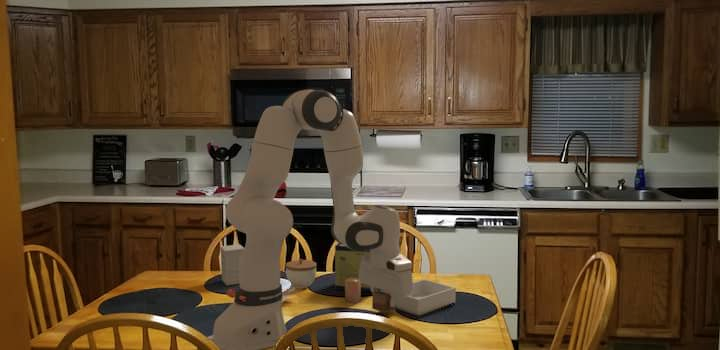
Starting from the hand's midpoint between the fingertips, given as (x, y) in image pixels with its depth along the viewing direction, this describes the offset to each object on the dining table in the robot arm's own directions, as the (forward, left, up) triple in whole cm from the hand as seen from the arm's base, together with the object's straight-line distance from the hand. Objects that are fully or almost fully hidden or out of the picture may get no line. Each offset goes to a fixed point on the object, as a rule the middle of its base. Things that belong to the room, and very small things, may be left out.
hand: (384, 303), depth 195 cm
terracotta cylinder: (+1, +15, -3) cm, 16 cm away
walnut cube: (0, 0, -2) cm, 2 cm away
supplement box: (-16, +60, -3) cm, 62 cm away
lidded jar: (-1, +40, -3) cm, 40 cm away
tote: (+15, -2, -3) cm, 15 cm away
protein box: (+13, +25, -3) cm, 28 cm away
